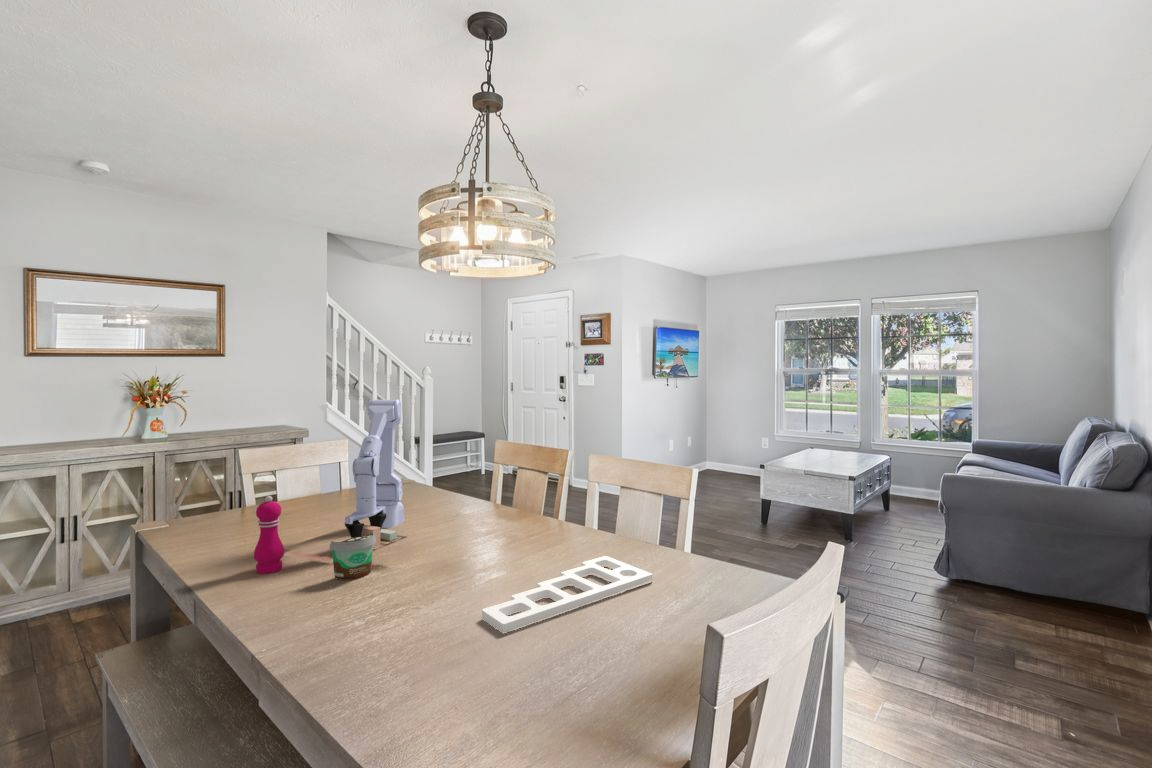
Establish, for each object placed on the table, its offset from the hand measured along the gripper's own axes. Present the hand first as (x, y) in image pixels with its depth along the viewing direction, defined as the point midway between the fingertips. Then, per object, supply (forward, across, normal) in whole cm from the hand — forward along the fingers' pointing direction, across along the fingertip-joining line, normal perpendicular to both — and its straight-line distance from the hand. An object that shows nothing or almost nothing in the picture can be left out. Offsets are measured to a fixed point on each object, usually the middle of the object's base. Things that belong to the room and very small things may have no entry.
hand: (366, 541), depth 167 cm
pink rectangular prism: (+2, 0, 0) cm, 2 cm away
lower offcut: (+3, -8, 0) cm, 9 cm away
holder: (+3, +6, +67) cm, 67 cm away
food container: (+3, +17, +13) cm, 22 cm away
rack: (+2, -4, 0) cm, 5 cm away
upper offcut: (+1, -8, 0) cm, 8 cm away
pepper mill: (+3, +23, -12) cm, 26 cm away
